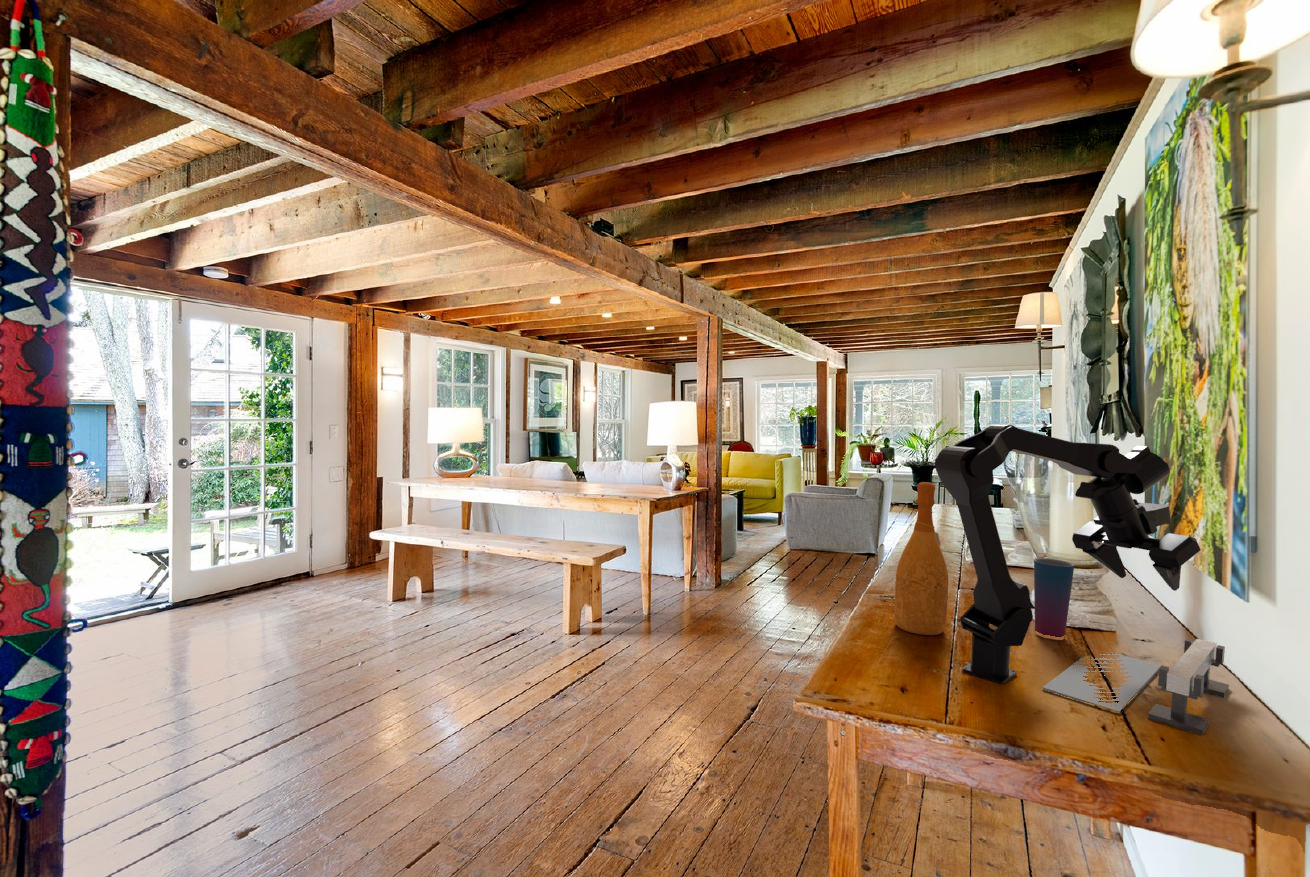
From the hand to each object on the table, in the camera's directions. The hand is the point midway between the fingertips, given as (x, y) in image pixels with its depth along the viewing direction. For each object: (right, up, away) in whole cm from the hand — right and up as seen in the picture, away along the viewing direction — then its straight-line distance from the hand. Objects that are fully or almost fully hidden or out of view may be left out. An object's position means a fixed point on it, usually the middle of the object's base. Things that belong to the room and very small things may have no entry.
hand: (1148, 582), depth 110 cm
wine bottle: (-34, -13, +16) cm, 40 cm away
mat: (-12, -15, -6) cm, 20 cm away
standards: (-5, -15, -14) cm, 21 cm away
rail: (-5, -11, -14) cm, 18 cm away
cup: (-8, -14, +14) cm, 22 cm away
